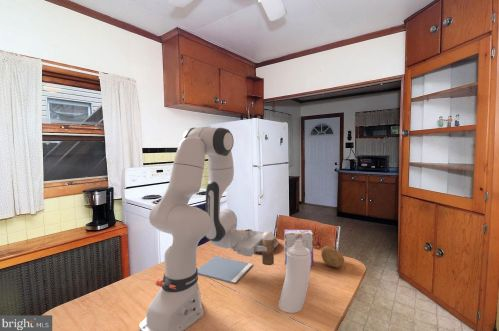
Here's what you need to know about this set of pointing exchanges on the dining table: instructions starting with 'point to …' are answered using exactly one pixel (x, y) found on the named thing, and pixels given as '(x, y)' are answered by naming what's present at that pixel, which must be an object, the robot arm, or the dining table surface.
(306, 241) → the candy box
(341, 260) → the potato
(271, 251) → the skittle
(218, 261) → the mat
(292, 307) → the spray can
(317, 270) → the dining table surface
